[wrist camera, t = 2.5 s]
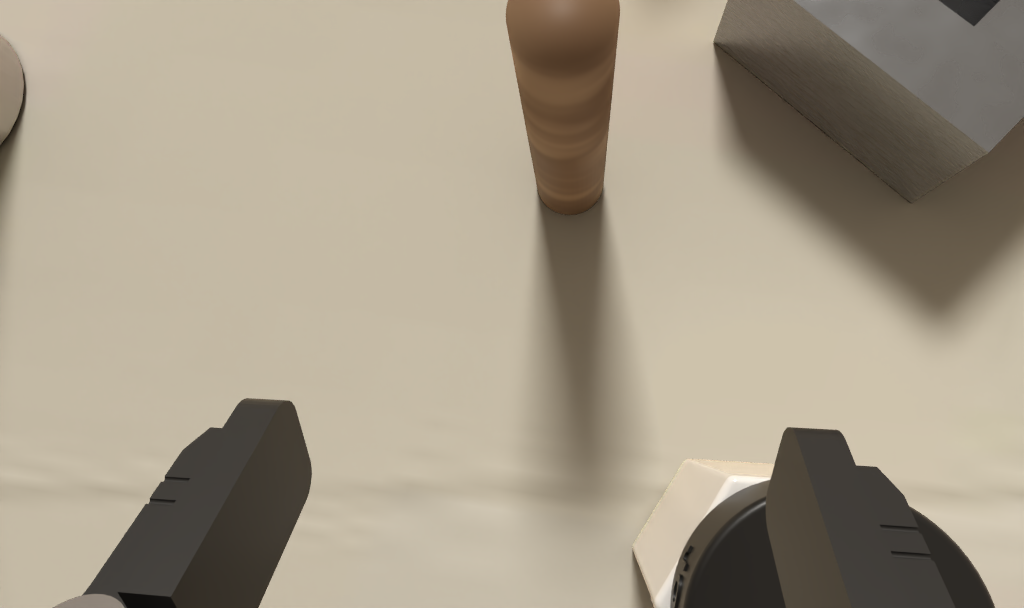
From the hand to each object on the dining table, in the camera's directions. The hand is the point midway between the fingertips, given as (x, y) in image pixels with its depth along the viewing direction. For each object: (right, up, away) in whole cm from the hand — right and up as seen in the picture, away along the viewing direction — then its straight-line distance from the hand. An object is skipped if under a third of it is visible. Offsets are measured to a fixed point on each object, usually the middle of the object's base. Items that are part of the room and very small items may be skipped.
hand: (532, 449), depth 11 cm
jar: (+9, -8, +18) cm, 22 cm away
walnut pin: (+2, +8, +21) cm, 23 cm away
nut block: (+18, +15, +21) cm, 32 cm away
